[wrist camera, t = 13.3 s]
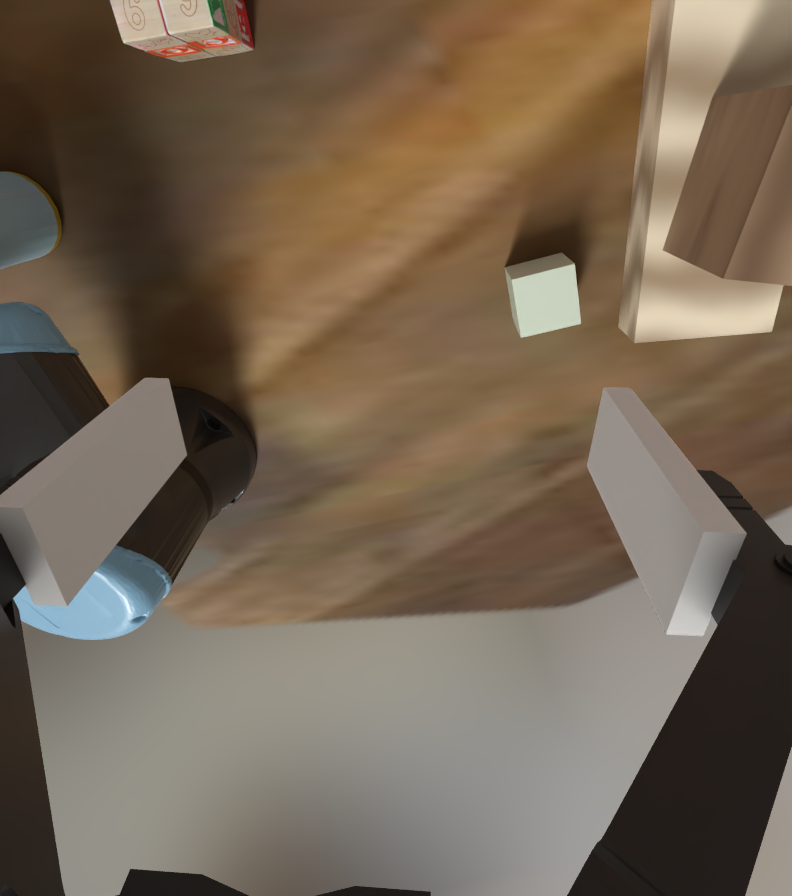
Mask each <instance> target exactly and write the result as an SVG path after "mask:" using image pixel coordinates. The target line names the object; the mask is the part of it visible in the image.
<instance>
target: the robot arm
mask: <svg viewBox="0 0 792 896" xmlns="http://www.w3.org/2000/svg"><path fill="white" fill-rule="evenodd" d="M78 355H79V353H78V351H77V350H76V349H75V348H73V347H71V346H70V345H69V343H68V342H67V341H66V339H65V338H64V336H63V335H62V334H61V332H60V331H59V329H58V328H57V327H56V325H55V324H54V322H53V321H52V320H51V318H50V317H49V316H48V315H47V314H46V313H45V312H44V311H43V310H42V309H40V308H38V307H37V306H34V305H32V304H28V303H24V302H10V303H3V304H0V896H65V893H64V889H63V884H62V879H61V873H60V866H59V860H58V853H57V848H56V842H55V834H54V828H53V822H52V815H51V809H50V803H49V796H48V790H47V784H46V777H45V771H44V765H43V758H42V752H41V746H40V739H39V733H38V726H37V720H36V714H35V707H34V701H33V695H32V689H31V682H30V676H29V669H28V664H27V657H26V651H25V644H24V638H23V631H22V625H21V620H22V621H23V622H25V623H27V624H29V625H32V626H34V627H36V628H38V629H41V630H44V631H46V632H49V633H52V634H57V635H62V636H65V637H69V638H76V639H86V640H91V639H92V640H99V639H109V638H114V637H118V636H122V635H125V634H127V633H129V632H131V631H133V630H135V629H137V628H138V627H140V626H141V625H142V624H143V623H144V622H145V621H146V620H147V619H148V618H149V617H150V615H151V614H152V612H153V611H154V610H155V608H156V607H157V605H158V604H159V603H160V601H161V600H162V599H163V598H164V597H165V596H166V595H167V594H168V593H169V591H170V588H171V585H172V584H173V582H174V580H175V578H176V576H177V575H178V573H179V571H180V570H181V568H182V566H183V564H184V562H185V561H186V559H187V557H188V556H189V554H190V552H191V550H192V549H193V547H194V545H195V543H196V542H197V540H198V538H199V536H200V535H201V533H202V531H203V529H204V528H205V526H206V524H207V523H208V521H210V520H211V519H213V518H214V517H215V516H217V515H218V514H219V513H220V512H221V511H223V510H225V509H227V508H228V507H230V506H231V505H233V504H234V503H235V502H236V501H237V500H238V499H239V498H240V497H241V496H242V495H243V493H244V492H245V490H246V489H247V487H248V485H249V483H250V481H251V479H252V477H253V475H254V472H255V467H256V451H255V447H254V443H253V440H252V438H251V436H250V433H249V432H248V430H247V428H246V427H245V425H244V424H243V422H242V421H241V420H240V419H239V418H238V416H237V415H236V414H235V413H234V412H233V411H231V410H230V409H229V408H228V407H227V406H225V405H224V404H223V403H221V402H220V401H218V400H216V399H215V398H213V397H211V396H209V395H207V394H204V393H202V392H199V391H196V390H192V389H187V388H181V387H171V386H170V382H169V378H144V379H142V380H141V381H140V382H139V383H137V384H136V385H135V386H134V387H133V388H131V389H130V390H129V391H128V392H126V393H125V394H124V395H123V396H121V397H120V398H119V399H118V400H117V401H115V402H114V403H113V404H112V405H110V406H109V404H108V403H107V401H106V399H105V398H104V396H103V395H102V393H101V392H100V390H99V388H98V387H97V385H96V384H95V382H94V381H93V379H92V377H91V376H90V374H89V373H88V371H87V370H86V368H85V366H84V365H83V363H82V362H81V360H80V359H79V357H78ZM587 468H588V470H589V472H590V474H591V476H592V478H593V480H594V483H595V485H596V487H597V489H598V491H599V493H600V495H601V497H602V500H603V502H604V504H605V506H606V508H607V510H608V512H609V514H610V517H611V519H612V521H613V523H614V525H615V527H616V529H617V531H618V534H619V536H620V538H621V540H622V542H623V544H624V546H625V549H626V551H627V553H628V555H629V557H630V559H631V561H632V563H633V566H634V568H635V570H636V572H637V574H638V576H639V578H640V580H641V583H642V585H643V587H644V589H645V591H646V593H647V595H648V597H649V599H650V602H651V604H652V606H653V608H654V610H655V612H656V615H657V616H658V619H659V621H660V623H661V625H662V627H663V629H664V631H665V634H669V635H690V636H704V633H705V631H706V629H707V626H708V624H709V621H710V619H711V617H712V616H713V618H714V619H715V621H716V623H717V624H718V626H717V628H716V630H715V631H714V633H713V635H712V637H711V639H710V641H709V643H708V645H707V646H706V648H705V650H704V652H703V654H702V656H701V658H700V659H699V661H698V663H697V665H696V667H695V668H694V670H693V672H692V674H691V676H690V678H689V679H688V682H687V683H686V685H685V687H684V689H683V691H682V692H681V694H680V696H679V698H678V700H677V702H676V703H675V705H674V707H673V709H672V711H671V713H670V714H669V716H668V718H667V720H666V722H665V724H664V726H663V727H662V729H661V731H660V733H659V735H658V737H657V739H656V740H655V742H654V744H653V746H652V748H651V750H650V751H649V753H648V755H647V757H646V759H645V761H644V762H643V764H642V766H641V768H640V770H639V772H638V774H637V775H636V777H635V779H634V781H633V783H632V785H631V787H630V788H629V790H628V792H627V794H626V796H625V797H624V799H623V801H622V803H621V805H620V807H619V809H618V811H617V813H616V814H615V816H614V818H613V820H612V821H611V824H610V825H609V827H608V829H607V831H606V832H605V834H604V836H603V837H602V839H601V840H600V841H599V842H598V843H597V844H596V846H595V847H594V849H593V850H592V852H591V854H590V855H589V857H588V859H587V861H586V862H585V864H584V866H583V868H582V870H581V872H580V873H579V875H578V877H577V879H576V881H575V882H574V884H573V886H572V888H571V890H570V892H569V893H568V895H567V896H745V894H746V891H747V888H748V884H749V881H750V878H751V875H752V872H753V868H754V865H755V862H756V859H757V855H758V852H759V849H760V846H761V843H762V840H763V836H764V833H765V830H766V827H767V824H768V820H769V817H770V814H771V811H772V808H773V804H774V801H775V798H776V795H777V792H778V788H779V785H780V782H781V779H782V776H783V772H784V769H785V766H786V763H787V759H788V756H789V753H790V750H791V747H792V546H791V545H785V544H784V543H783V542H782V541H781V540H780V538H779V537H778V536H777V535H776V534H775V533H774V532H773V530H772V529H771V528H770V527H769V526H768V525H767V523H766V522H765V521H764V520H763V519H762V518H761V517H760V515H759V514H758V513H757V512H756V511H755V510H753V509H752V508H753V507H752V506H751V505H750V504H749V503H748V502H747V501H746V499H743V496H742V495H741V494H740V492H739V491H738V490H737V489H736V488H735V487H734V486H733V484H732V483H731V482H729V481H727V480H726V479H724V478H723V477H721V476H720V475H718V474H716V473H715V472H713V471H705V470H696V469H695V468H694V467H693V465H692V464H691V463H690V462H689V460H688V459H687V458H686V457H685V455H684V454H683V453H682V452H681V450H680V449H679V448H678V447H677V445H676V444H675V443H674V442H673V440H672V439H671V438H670V437H669V435H668V434H667V433H666V432H665V430H664V429H663V428H662V427H661V425H660V424H659V423H658V422H657V420H656V419H655V418H654V417H653V415H652V414H651V413H650V412H649V410H648V409H647V408H646V406H645V405H644V404H643V403H642V401H641V400H640V399H639V398H638V396H637V395H636V394H635V393H634V391H633V390H632V389H631V388H626V387H604V388H603V393H602V398H601V402H600V407H599V412H598V417H597V421H596V426H595V431H594V436H593V440H592V445H591V450H590V454H589V459H588V464H587ZM430 893H431V892H426V891H413V890H399V889H387V888H374V887H373V888H372V887H360V886H354V887H350V888H345V889H341V890H337V891H333V892H329V893H325V894H321V895H317V896H430V895H431V894H430ZM117 896H248V895H246V894H244V893H242V892H240V891H237V890H235V889H233V888H231V887H228V886H226V885H224V884H222V883H219V882H218V881H215V880H213V879H211V878H209V877H207V876H204V875H202V874H189V873H175V872H163V871H149V870H137V869H130V871H129V874H128V876H127V878H126V881H125V883H124V886H123V888H122V890H121V893H120V895H117Z"/></svg>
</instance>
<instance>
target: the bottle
mask: <svg viewBox="0 0 792 896" xmlns="http://www.w3.org/2000/svg"><path fill="white" fill-rule="evenodd" d="M61 234H62V226H61V219H60V216H59V213H58V210H57V208H56V206H55V204H54V202H53V201H52V199H51V197H50V196H49V195H48V193H47V192H46V191H45V190H44V189H43V188H42V187H41V186H40V185H39V184H37V183H36V182H35V181H33V180H32V179H30V178H28V177H27V176H25V175H22V174H19V173H16V172H0V269H2V268H5V267H9V266H12V265H16V264H19V263H22V262H26V261H29V260H33V259H36V258H39V257H42V256H44V255H47V254H49V253H51V252H52V251H53V250H54V249H55V248H56V247H57V246H58V244H59V241H60V238H61Z"/></svg>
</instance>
